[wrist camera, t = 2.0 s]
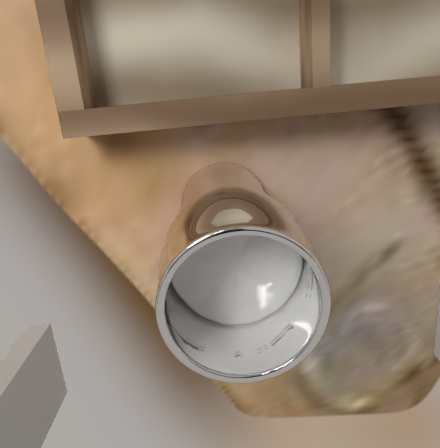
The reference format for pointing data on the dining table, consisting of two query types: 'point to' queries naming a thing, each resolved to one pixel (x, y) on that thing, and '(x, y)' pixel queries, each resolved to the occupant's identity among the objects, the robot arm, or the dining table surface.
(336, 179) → the dining table surface
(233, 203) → the metal cup
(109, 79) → the tray
